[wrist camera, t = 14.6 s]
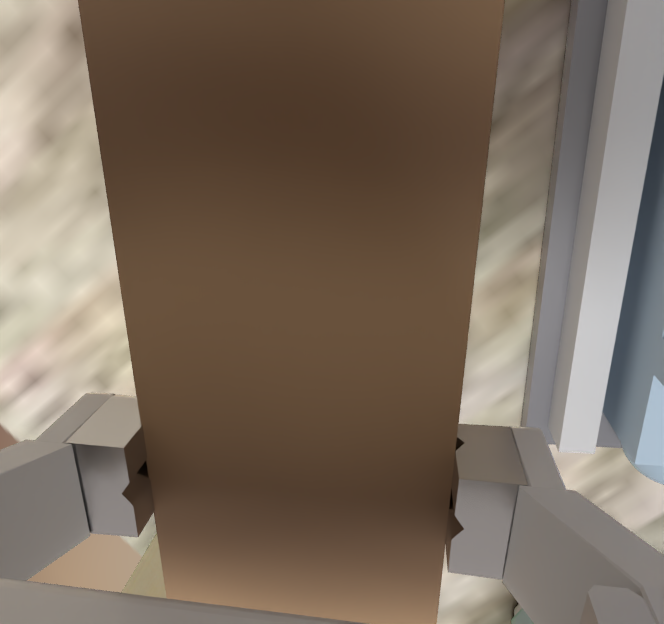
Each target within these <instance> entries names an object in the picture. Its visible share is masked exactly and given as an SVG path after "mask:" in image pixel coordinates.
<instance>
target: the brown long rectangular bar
mask: <svg viewBox="0 0 664 624" xmlns="http://www.w3.org/2000/svg"><path fill="white" fill-rule="evenodd" d="M504 3H505V0H78V4H79V10H80V17H81V24H82V31H83V37H84V44H85V51H86V58H87V64H88V71H89V78H90V85H91V91H92V98H93V105H94V112H95V118H96V125H97V132H98V139H99V145H100V152H101V159H102V166H103V172H104V179H105V186H106V193H107V199H108V206H109V213H110V220H111V226H112V233H113V240H114V247H115V253H116V260H117V267H118V274H119V280H120V287H121V294H122V301H123V307H124V314H125V321H126V328H127V334H128V341H129V348H130V355H131V361H132V368H133V375H134V382H135V388H136V395H137V402H138V409H139V415H140V422H141V425H143V431H144V438H145V445H146V451H147V459H146V463H147V469H148V476H149V479H150V480H151V487H152V494H153V502H154V509H155V511H154V517H155V523H156V530H157V537H158V544H159V550H160V557H161V564H162V571H163V577H164V584H165V591H166V598H167V599H176V600H184V601H192V602H200V603H208V604H216V605H224V606H232V607H240V608H248V609H256V610H264V611H272V612H281V613H289V614H297V615H305V616H313V617H320V618H328V619H336V620H344V621H352V622H360V623H368V624H436V623H437V614H438V605H439V596H440V587H441V578H442V569H443V559H444V550H445V539H446V529H447V520H448V511H449V505H450V496H451V485H452V477H453V468H454V459H455V450H456V441H457V432H458V423H459V414H460V404H461V395H462V386H463V377H464V368H465V359H466V350H467V341H468V331H469V322H470V313H471V304H472V295H473V286H474V277H475V268H476V258H477V249H478V240H479V231H480V222H481V213H482V204H483V195H484V185H485V176H486V167H487V158H488V149H489V140H490V131H491V122H492V112H493V103H494V94H495V85H496V76H497V67H498V58H499V49H500V39H501V30H502V21H503V12H504Z"/></svg>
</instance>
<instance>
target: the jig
mask: <svg viewBox="0 0 664 624" xmlns="http://www.w3.org/2000/svg"><path fill="white" fill-rule="evenodd" d="M663 75H664V0H572V1H571V9H570V18H569V26H568V34H567V43H566V51H565V60H564V68H563V76H562V85H561V93H560V102H559V110H558V118H557V127H556V135H555V144H554V152H553V160H552V169H551V177H550V186H549V194H548V202H547V211H546V219H545V228H544V236H543V244H542V253H541V261H540V270H539V278H538V286H537V295H536V303H535V312H534V320H533V328H532V337H531V345H530V354H529V362H528V370H527V379H526V387H525V396H524V404H523V412H522V421H521V427H531V428H539V429H541V430H542V431H543V434H544V436H545V439H546V441H547V444H556V446H557V449H558V451H559V452H571V453H590V454H595V449H596V447H613V448H622V445H621V441H620V440H619V438H618V436H617V435H616V433H615V431H614V430H613V428H612V426H611V425H610V423H609V422H608V420H607V418H606V417H605V415H604V413H603V412H602V410H603V405H604V399H605V394H606V388H607V383H608V377H609V372H610V366H611V361H612V355H613V350H614V344H615V339H616V333H617V328H618V322H619V317H620V311H621V306H622V300H623V295H624V289H625V284H626V278H627V273H628V267H629V262H630V256H631V251H632V245H633V240H634V234H635V229H636V223H637V218H638V212H639V207H640V201H641V196H642V190H643V185H644V180H645V174H646V169H647V163H648V158H649V152H650V147H651V141H652V136H653V130H654V125H655V119H656V114H657V108H658V103H659V97H660V92H661V86H662V81H663Z"/></svg>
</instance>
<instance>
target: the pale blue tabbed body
mask: <svg viewBox="0 0 664 624" xmlns="http://www.w3.org/2000/svg"><path fill="white" fill-rule="evenodd" d="M602 412H603V413H604V415H605V417H606V418H607V420H608V422H609V423H610V425H611V426H612V428H613V430H614V431H615V433H616V435H617V436H618V438H619V440H620V441H621V445H622V448H623V451H624V453H625V455H626V457H627V458H628V460H629V461H630V463H631V464H632V465H633V466H634V467H635V468H636V469H637V470H638V471H639V472H640V473H642V474H643V475H645V476H646V477H648V478H649V479H651V480H653V481H655V482H658V483H660V484H663V485H664V75H663V81H662V86H661V92H660V97H659V103H658V108H657V114H656V119H655V125H654V130H653V136H652V141H651V147H650V152H649V158H648V163H647V169H646V174H645V180H644V185H643V190H642V196H641V201H640V207H639V212H638V218H637V223H636V229H635V234H634V240H633V245H632V251H631V256H630V262H629V267H628V273H627V278H626V284H625V289H624V295H623V300H622V306H621V311H620V317H619V322H618V328H617V333H616V339H615V344H614V350H613V355H612V361H611V366H610V372H609V377H608V383H607V388H606V394H605V399H604V405H603V410H602Z"/></svg>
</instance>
